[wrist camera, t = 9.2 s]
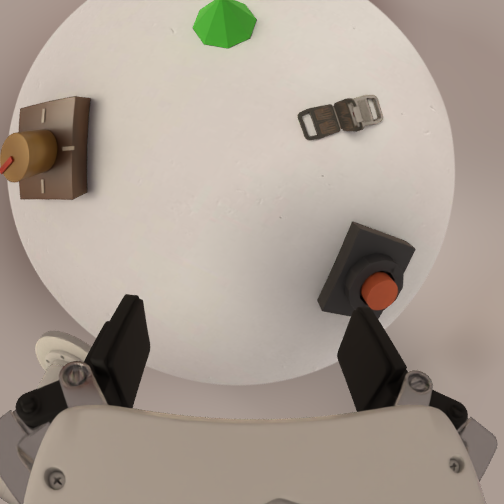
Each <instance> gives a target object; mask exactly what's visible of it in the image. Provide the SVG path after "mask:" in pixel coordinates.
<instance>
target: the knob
mask: <svg viewBox="0 0 504 504" xmlns="http://www.w3.org/2000/svg"><path fill="white" fill-rule="evenodd" d="M56 156H57V142H56V139H55V136H54V135H53V134H52V133H51V132H50V131H49V130H46V129H42V130H33V131H25V132H18V133H13V134H11V135H10V136H8V138H7V139H6V140H5V142H4V144H3V147H2V149H1V155H0V163H1V168H0V173H1V174H4V176H5V177H6V178H7V180H9V181H11V182H18V181H21V180H24V179H26V178H29V177H32V176H35V175H38V174H41V173H44V172H46V171H48V170H49V169H50V168H51V167H52V166H53V164H54V162H55V160H56Z"/></svg>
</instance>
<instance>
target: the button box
mask: <svg viewBox="0 0 504 504" xmlns="http://www.w3.org/2000/svg"><path fill="white" fill-rule="evenodd" d="M414 251H415V248H414V247H413V246H411V245H410V244H409V243H408V242H406V241H404V240H401V239H399V238H396V237H394V236H391V235H388V234H386V233H383V232H380V231H377V230H375V229H372V228H369V227H366V226H364V225H361V224H358V223H355V222H352V223H351V226H350V228H349V231H348V233H347V235H346V238H345V240H344V242H343V245H342V247H341V249H340V252H339V254H338V256H337V259H336V261H335V263H334V265H333V268H332V270H331V272H330V274H329V276H328V279H327V281H326V283H325V285H324V287H323V289H322V291H321V294H320V296H319V298H318V300H317V301H318V303H319V305H320V307H321V310H322V311H324V312H329V313H335V314H341V315H346V316H351V315H352V312H353V311H354V310H356V308H357V307H369V306H368V304H367V303H366V301H365V300H364V298H363V297H362V294H361V289H362V285H363V283H364V282H365V280H366V279H367V278H368V277H369V276H371V275H372V274H374V273H377V272H384V273H386V274H388V275H389V276H390V278H391V279H392V280H393V281H394V282H395V283H396V285H397V287H398V293H397V296H396V298H395V300H396V299H397V297H398V295H399V293H400V291H401V290H402V288H403V274H404V272H405V270H406V268H407V266H408V264H409V262H410V260H411V257H412V255H413V253H414ZM395 300H394V301H395ZM394 301H393V302H394ZM385 309H386V308H385ZM385 309H382V310H373V309H372V311H373V312H374V314H375V316H376V317H377V319H379V317H380V315H381V314H382V312H383V310H385Z"/></svg>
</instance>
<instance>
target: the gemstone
mask: <svg viewBox="0 0 504 504" xmlns="http://www.w3.org/2000/svg"><path fill="white" fill-rule="evenodd" d="M255 23H256V18H255V17H254V16H253V14H252V13H251V12H250V10H249V9H248V8H247V6H246V5H245V4H243V3H240V2H238V1H235V0H214V1H213V2H211V3H209V4H208V5H206V6H205V7H204V8H202V9H201V10H200V11H199V13H198V16H197V18H196V21H195V23H194V26H193V29H194V31H195V32H196V34H197V35H198V36H199V38H200V39H201V41H202V42H203V44H206V45H212V46H218V47H223V48H230V47H232V46H234V45H236V44H238V43H241V42H243V41H245V40H247V39H249V38H250V37H251V34H252V31H253V29H254V26H255Z"/></svg>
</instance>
